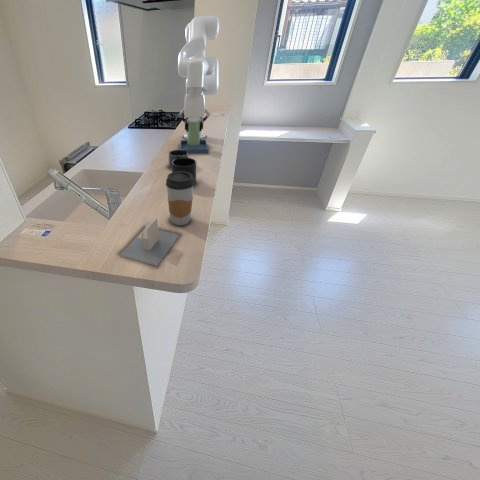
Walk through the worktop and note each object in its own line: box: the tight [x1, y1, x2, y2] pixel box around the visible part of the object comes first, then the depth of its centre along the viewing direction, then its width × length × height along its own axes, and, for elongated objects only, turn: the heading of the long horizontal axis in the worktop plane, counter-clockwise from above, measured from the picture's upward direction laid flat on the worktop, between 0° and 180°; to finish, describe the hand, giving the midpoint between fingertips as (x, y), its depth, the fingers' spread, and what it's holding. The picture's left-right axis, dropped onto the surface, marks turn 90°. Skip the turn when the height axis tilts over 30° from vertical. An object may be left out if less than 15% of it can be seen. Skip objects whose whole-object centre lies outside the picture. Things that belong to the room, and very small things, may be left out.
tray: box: [178, 139, 209, 155], centre depth 141 cm, size 16×14×2 cm
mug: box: [171, 157, 197, 186], centre depth 106 cm, size 9×12×9 cm
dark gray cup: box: [168, 149, 189, 170], centre depth 121 cm, size 9×9×6 cm
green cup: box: [186, 119, 201, 146], centre depth 137 cm, size 6×6×12 cm
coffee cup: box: [165, 171, 195, 226], centre depth 81 cm, size 8×8×15 cm
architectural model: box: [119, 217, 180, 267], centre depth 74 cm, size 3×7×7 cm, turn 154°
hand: (193, 130), depth 136 cm, fingers closed on green cup, 6 cm apart
